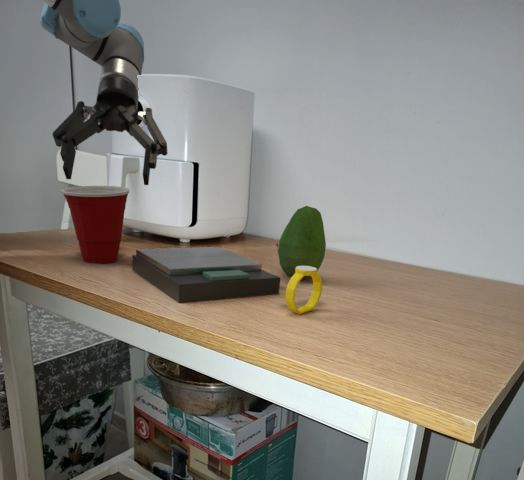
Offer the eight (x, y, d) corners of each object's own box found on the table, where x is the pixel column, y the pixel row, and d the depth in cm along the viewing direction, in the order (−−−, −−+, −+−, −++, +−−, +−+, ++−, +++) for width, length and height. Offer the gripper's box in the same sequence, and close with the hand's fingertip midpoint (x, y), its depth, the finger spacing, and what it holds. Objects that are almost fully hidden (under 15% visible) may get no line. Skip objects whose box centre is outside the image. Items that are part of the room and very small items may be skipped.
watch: (308, 305, 68) (313, 263, 65) (323, 310, 66) (329, 267, 64) (279, 312, 64) (283, 267, 61) (295, 318, 62) (300, 272, 60)
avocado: (330, 282, 82) (340, 209, 77) (292, 285, 78) (300, 208, 73) (303, 272, 88) (310, 203, 83) (266, 274, 84) (272, 202, 79)
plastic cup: (53, 256, 83) (47, 183, 79) (110, 251, 91) (107, 184, 86) (85, 269, 77) (81, 190, 72) (144, 263, 84) (143, 190, 80)
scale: (132, 270, 79) (131, 248, 77) (220, 266, 87) (220, 246, 86) (178, 302, 64) (179, 276, 63) (278, 293, 72) (281, 270, 71)
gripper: (184, 113, 99) (178, 196, 91) (57, 102, 97) (39, 186, 88) (183, 81, 93) (176, 167, 84) (46, 67, 90) (26, 155, 81)
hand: (106, 177), depth 86 cm, fingers open, 13 cm apart
